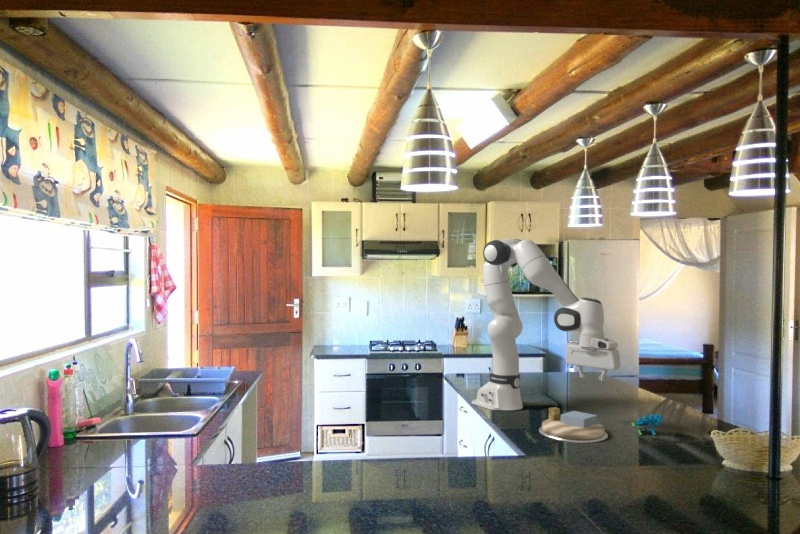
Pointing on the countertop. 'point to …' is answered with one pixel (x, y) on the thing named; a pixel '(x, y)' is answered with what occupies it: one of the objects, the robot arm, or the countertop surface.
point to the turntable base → (573, 439)
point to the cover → (578, 419)
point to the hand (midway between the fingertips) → (592, 379)
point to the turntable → (570, 428)
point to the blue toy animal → (647, 423)
